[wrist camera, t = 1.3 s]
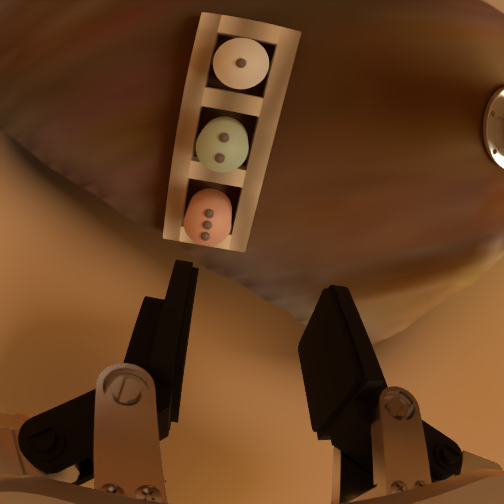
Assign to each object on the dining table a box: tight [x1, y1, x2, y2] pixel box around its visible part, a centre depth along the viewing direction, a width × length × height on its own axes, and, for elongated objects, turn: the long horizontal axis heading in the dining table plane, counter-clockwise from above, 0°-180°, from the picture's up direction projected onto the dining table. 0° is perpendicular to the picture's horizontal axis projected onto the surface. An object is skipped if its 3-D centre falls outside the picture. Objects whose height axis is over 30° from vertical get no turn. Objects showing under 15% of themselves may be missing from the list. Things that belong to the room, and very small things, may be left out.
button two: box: [196, 117, 249, 173], centre depth 30 cm, size 5×5×4 cm
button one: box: [213, 38, 269, 89], centre depth 26 cm, size 5×5×4 cm
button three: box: [184, 188, 232, 246], centre depth 34 cm, size 5×5×4 cm
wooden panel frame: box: [163, 12, 301, 252], centre depth 32 cm, size 10×26×2 cm, turn 167°
